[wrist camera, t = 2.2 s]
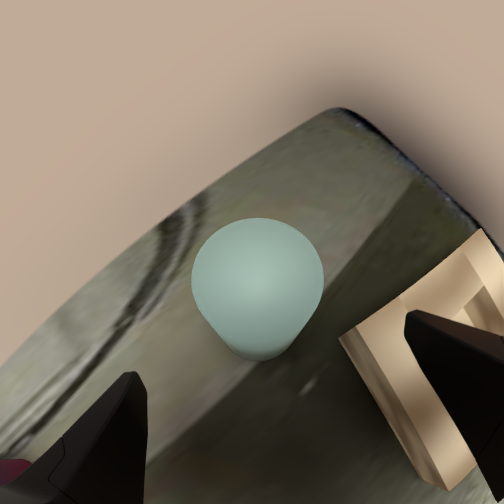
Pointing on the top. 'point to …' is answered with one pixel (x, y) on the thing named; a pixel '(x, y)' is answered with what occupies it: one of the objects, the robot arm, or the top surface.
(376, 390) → the socket
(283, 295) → the peg
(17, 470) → the cup
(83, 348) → the top surface
